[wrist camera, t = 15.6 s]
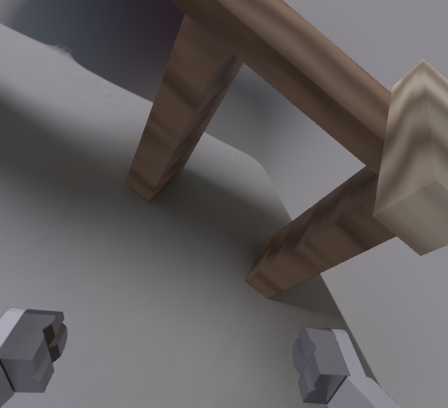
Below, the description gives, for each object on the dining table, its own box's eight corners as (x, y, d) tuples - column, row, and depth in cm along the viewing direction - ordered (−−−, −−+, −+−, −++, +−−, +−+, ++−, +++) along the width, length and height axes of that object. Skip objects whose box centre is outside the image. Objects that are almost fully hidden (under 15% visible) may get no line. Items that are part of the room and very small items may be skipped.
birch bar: (420, 255, 14) (491, 227, 12) (372, 216, 14) (435, 180, 11) (416, 107, 27) (448, 81, 25) (392, 86, 27) (422, 58, 25)
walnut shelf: (265, 312, 39) (479, 222, 19) (111, 189, 38) (178, -33, 19) (287, 259, 45) (461, 153, 26) (157, 153, 44) (241, -36, 25)
